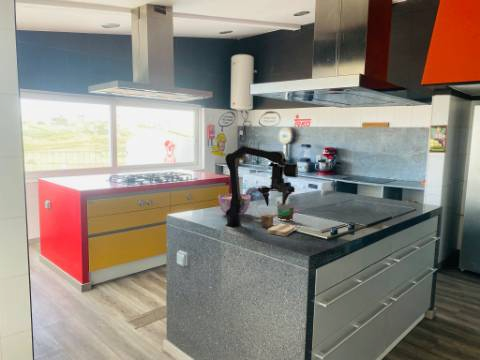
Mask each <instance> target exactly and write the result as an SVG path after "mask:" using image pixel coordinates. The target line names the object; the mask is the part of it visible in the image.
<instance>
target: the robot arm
mask: <svg viewBox="0 0 480 360" xmlns="http://www.w3.org/2000/svg"><path fill="white" fill-rule="evenodd" d="M245 155H250V156H255V157H259V158H263V159H266V160H269V161H270V163H269V164H268V166H267V167H269V168H271V176H270V177H269V179H270V185H269V186H267V185H259V186H258V188H257V192H259V193H260V194H261V195H262V196H263V199H264V201H265V205H266V206H269V204H270V203H269V201H270V200H269V198H270V197H269V196H270V192H278V193H282V194H281V195H282V199H281V200H282V201H281V203H282V204H283V205H284V204H285V203H286V202H287V199H288V197H289V196H290V195H291V194H293V193H295V192H296V191H295V190H296V189H295V186H292V183H291V182H290V181H288V182H287V181H286V182H285V178H284V176H285V177H287V178H288V177H289V178H297V177H298V175H299V167H298V163H289V161H288V160H287V159H286V155H285V153H284V152H283V151H280V150H266V149H261V148H258V147H251V146H248V145H242V146H241V147H240V148H238V149H236V150H235V151H233V152H231V153H227V154H226V156H225V158H224V159H225V164H226V166H227V168H228V170H229V180H230V191H231V194H232V198H231V202H230V208H229V209H228V210H227V211H226V216H227V217H226V218H227V221H226V224H225V226H226V227H230V228H231V227H233V228H237V227H240V226H242V223H241V216H240V214H239V213H241V210H243V209H244V206H245V203H244V200H245V199H244V198H242V197H241V195H240V194H241V190H240V189H241V188H240V186H241V185H240V179H239V178H240V177H239V167H240V164H241V163H240V162H241V160H240V159H242V158H243V157H245Z"/></svg>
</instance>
